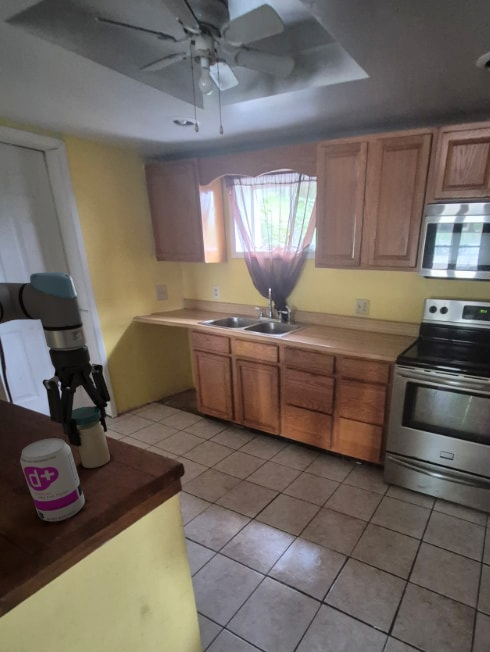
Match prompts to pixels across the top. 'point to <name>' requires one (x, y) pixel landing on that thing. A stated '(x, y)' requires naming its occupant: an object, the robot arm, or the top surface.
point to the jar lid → (86, 415)
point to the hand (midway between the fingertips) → (89, 437)
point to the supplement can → (52, 479)
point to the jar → (93, 445)
